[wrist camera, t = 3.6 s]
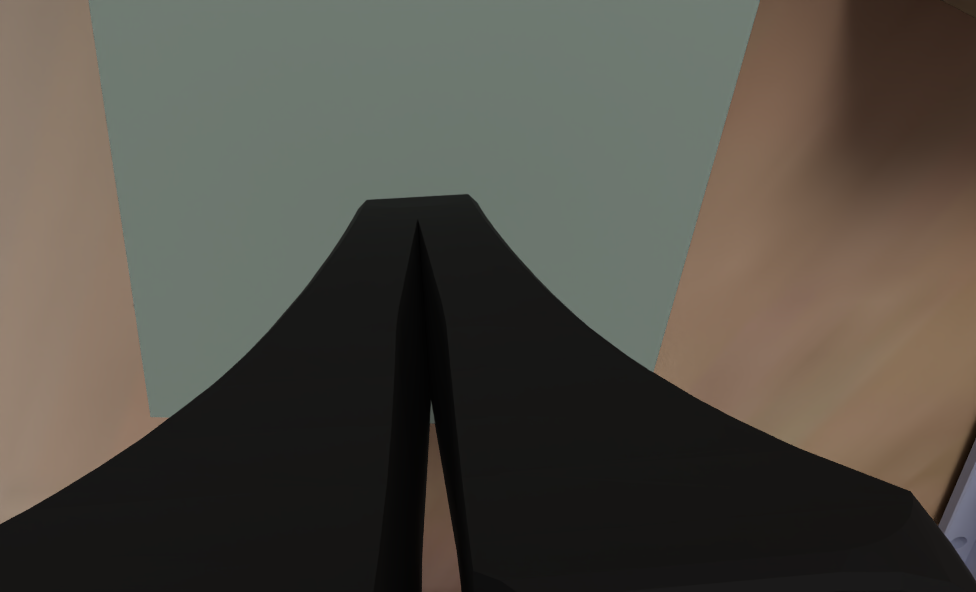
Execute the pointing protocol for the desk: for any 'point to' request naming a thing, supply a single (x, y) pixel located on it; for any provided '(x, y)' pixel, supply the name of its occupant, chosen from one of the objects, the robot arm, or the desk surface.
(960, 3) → the walnut block
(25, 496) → the desk surface
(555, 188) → the sage block
